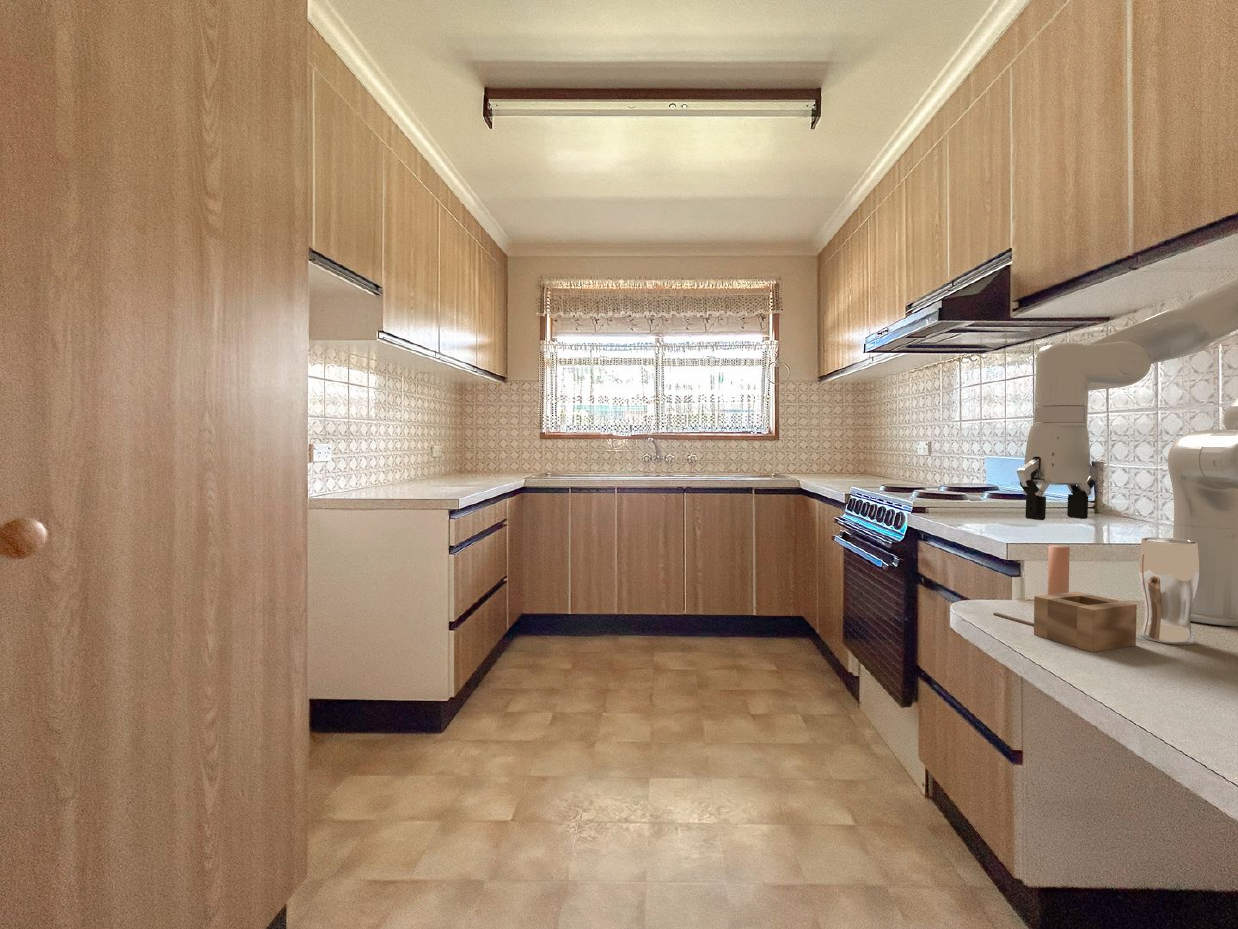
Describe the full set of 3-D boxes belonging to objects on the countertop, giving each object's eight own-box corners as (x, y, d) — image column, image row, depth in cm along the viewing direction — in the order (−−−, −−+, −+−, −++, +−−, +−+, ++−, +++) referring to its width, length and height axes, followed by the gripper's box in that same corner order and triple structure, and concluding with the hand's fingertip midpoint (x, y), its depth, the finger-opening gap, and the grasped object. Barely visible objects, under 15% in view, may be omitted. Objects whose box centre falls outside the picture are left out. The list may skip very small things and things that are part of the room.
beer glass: (1209, 647, 95) (1211, 544, 95) (1154, 645, 97) (1156, 543, 96) (1178, 634, 102) (1181, 537, 102) (1127, 631, 104) (1129, 536, 103)
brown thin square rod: (996, 614, 114) (996, 612, 114) (1050, 629, 105) (1050, 628, 105) (993, 614, 114) (993, 613, 114) (1047, 630, 105) (1047, 628, 104)
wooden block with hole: (1075, 629, 105) (1076, 591, 105) (1135, 645, 97) (1136, 604, 96) (1033, 634, 102) (1034, 596, 102) (1091, 651, 94) (1092, 610, 94)
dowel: (1055, 613, 115) (1057, 544, 114) (1072, 617, 112) (1073, 547, 111) (1043, 615, 114) (1044, 545, 113) (1059, 619, 111) (1060, 548, 110)
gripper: (1075, 419, 118) (1071, 515, 118) (1002, 417, 112) (998, 517, 113) (1119, 418, 111) (1115, 520, 111) (1043, 415, 105) (1039, 522, 106)
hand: (1056, 518), depth 112 cm, fingers open, 9 cm apart
